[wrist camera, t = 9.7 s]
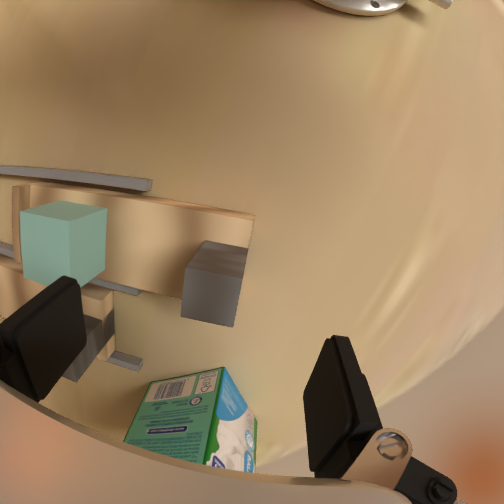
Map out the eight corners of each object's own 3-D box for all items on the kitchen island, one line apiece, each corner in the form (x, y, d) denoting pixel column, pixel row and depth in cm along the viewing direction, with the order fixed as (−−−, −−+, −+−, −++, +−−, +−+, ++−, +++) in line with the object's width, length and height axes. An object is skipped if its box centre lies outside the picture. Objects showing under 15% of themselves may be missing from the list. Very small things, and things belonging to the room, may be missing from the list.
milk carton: (258, 421, 29) (246, 627, 5) (188, 431, 30) (145, 608, 6) (225, 366, 26) (176, 630, 3) (149, 381, 28) (63, 583, 4)
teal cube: (107, 208, 20) (69, 221, 15) (105, 269, 21) (71, 294, 16) (60, 200, 20) (19, 211, 15) (59, 257, 21) (23, 277, 16)
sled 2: (254, 215, 22) (249, 242, 14) (238, 296, 24) (227, 354, 16) (39, 181, 22) (-20, 193, 14) (39, 248, 24) (-14, 276, 16)
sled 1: (112, 289, 24) (66, 334, 17) (115, 348, 26) (80, 398, 19) (-15, 247, 24) (-59, 268, 16) (-8, 296, 26) (-46, 322, 18)
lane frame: (152, 179, 22) (146, 180, 20) (142, 364, 27) (138, 371, 26) (-22, 164, 21) (-28, 165, 20) (-12, 301, 27) (-17, 304, 25)
